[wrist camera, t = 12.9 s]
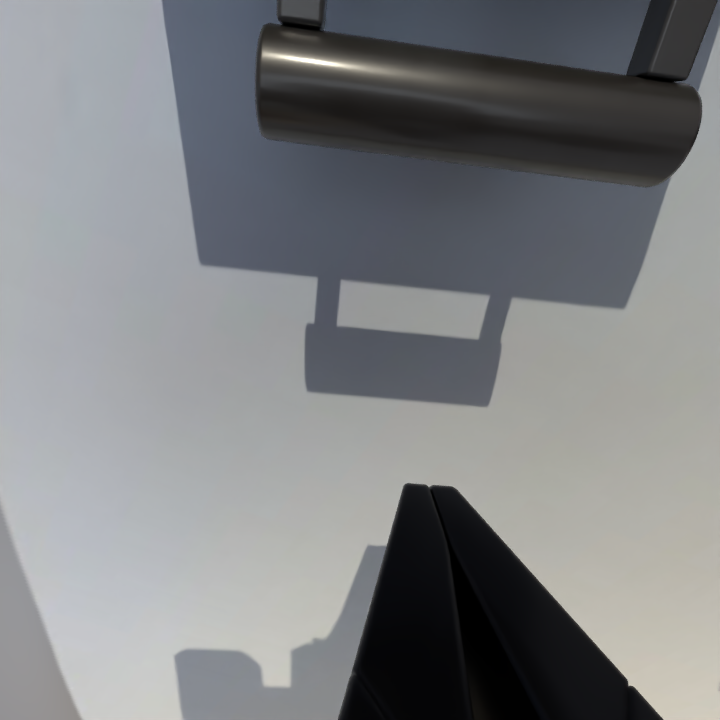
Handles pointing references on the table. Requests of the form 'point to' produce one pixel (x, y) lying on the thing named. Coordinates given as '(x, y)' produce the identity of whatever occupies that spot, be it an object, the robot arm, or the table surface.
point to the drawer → (485, 99)
